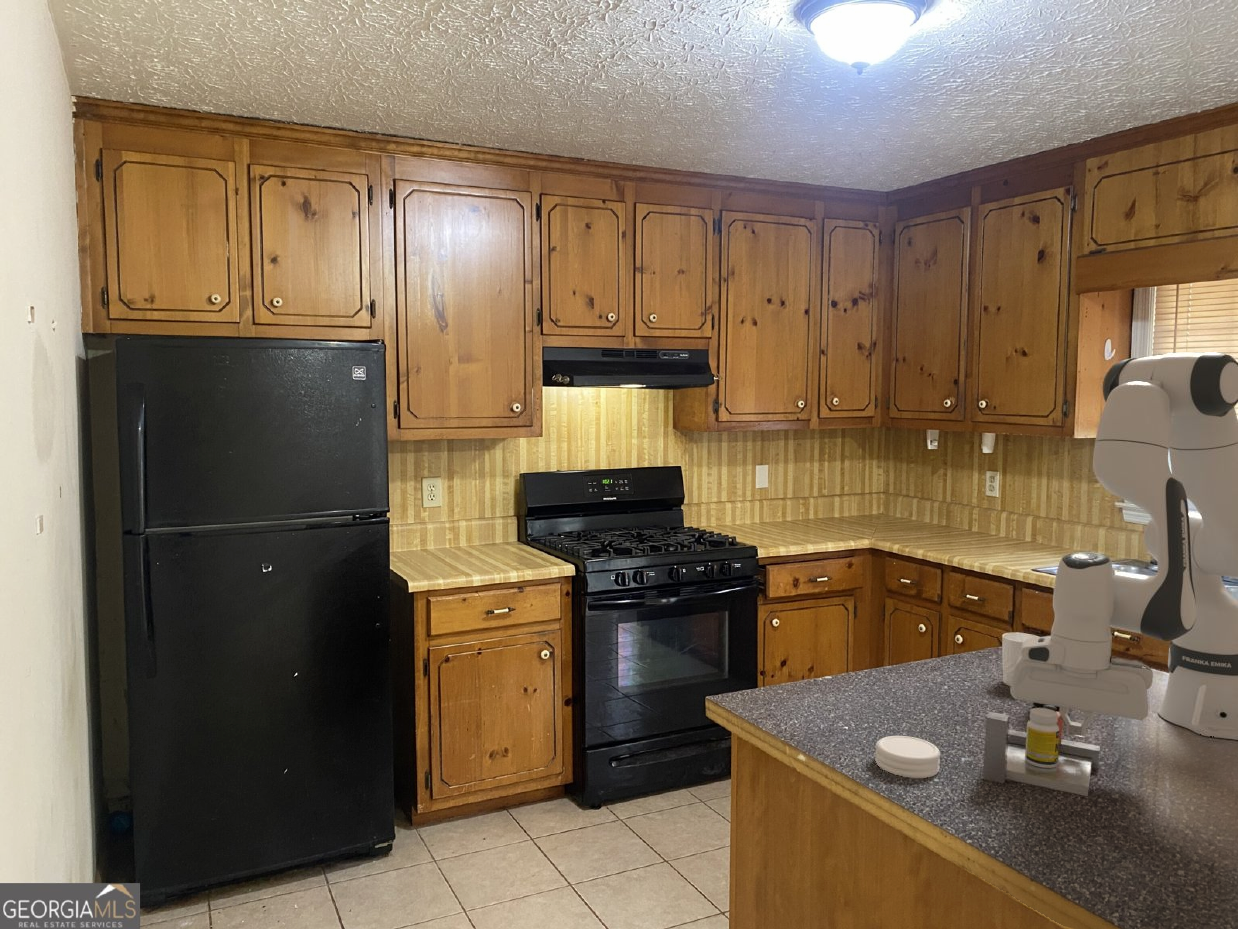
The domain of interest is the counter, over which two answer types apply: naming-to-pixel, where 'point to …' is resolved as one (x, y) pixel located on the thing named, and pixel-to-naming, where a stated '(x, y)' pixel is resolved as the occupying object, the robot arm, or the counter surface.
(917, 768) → the coaster
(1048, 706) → the handle
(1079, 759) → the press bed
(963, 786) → the counter surface
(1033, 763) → the supplement bottle
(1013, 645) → the white cup
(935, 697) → the counter surface
